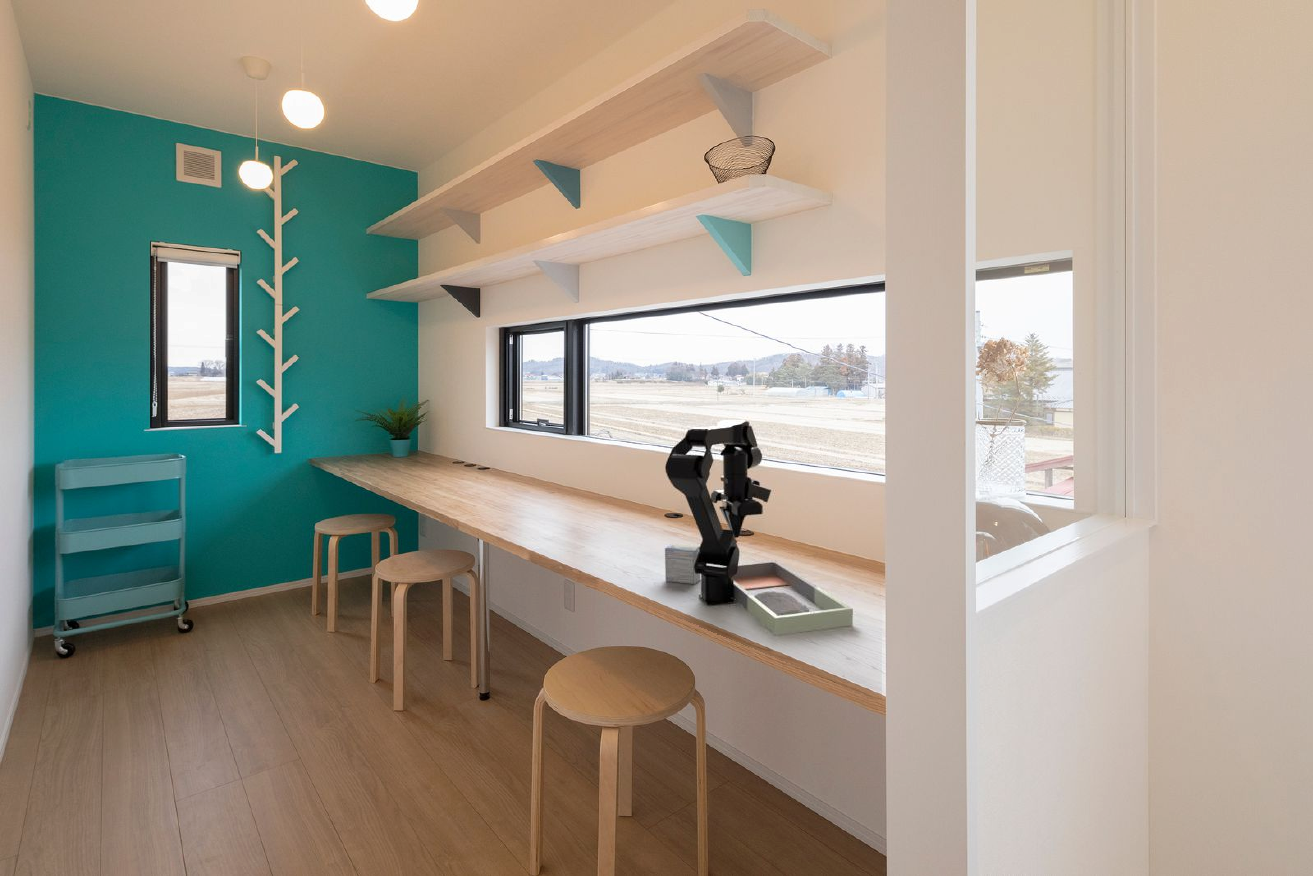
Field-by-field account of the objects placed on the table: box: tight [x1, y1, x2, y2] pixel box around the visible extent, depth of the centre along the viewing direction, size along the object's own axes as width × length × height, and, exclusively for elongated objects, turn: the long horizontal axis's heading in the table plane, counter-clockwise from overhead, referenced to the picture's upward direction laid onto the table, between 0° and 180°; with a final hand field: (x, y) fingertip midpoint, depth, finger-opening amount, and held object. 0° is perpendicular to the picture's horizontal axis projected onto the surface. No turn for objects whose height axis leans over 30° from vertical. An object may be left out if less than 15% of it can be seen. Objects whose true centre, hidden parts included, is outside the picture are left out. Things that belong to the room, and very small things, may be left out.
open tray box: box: [717, 560, 854, 636], centre depth 148 cm, size 17×36×4 cm, turn 15°
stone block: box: [753, 591, 810, 616], centre depth 139 cm, size 12×5×10 cm
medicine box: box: [664, 543, 701, 585], centre depth 164 cm, size 8×4×9 cm, turn 68°
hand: (735, 537), depth 158 cm, fingers closed
